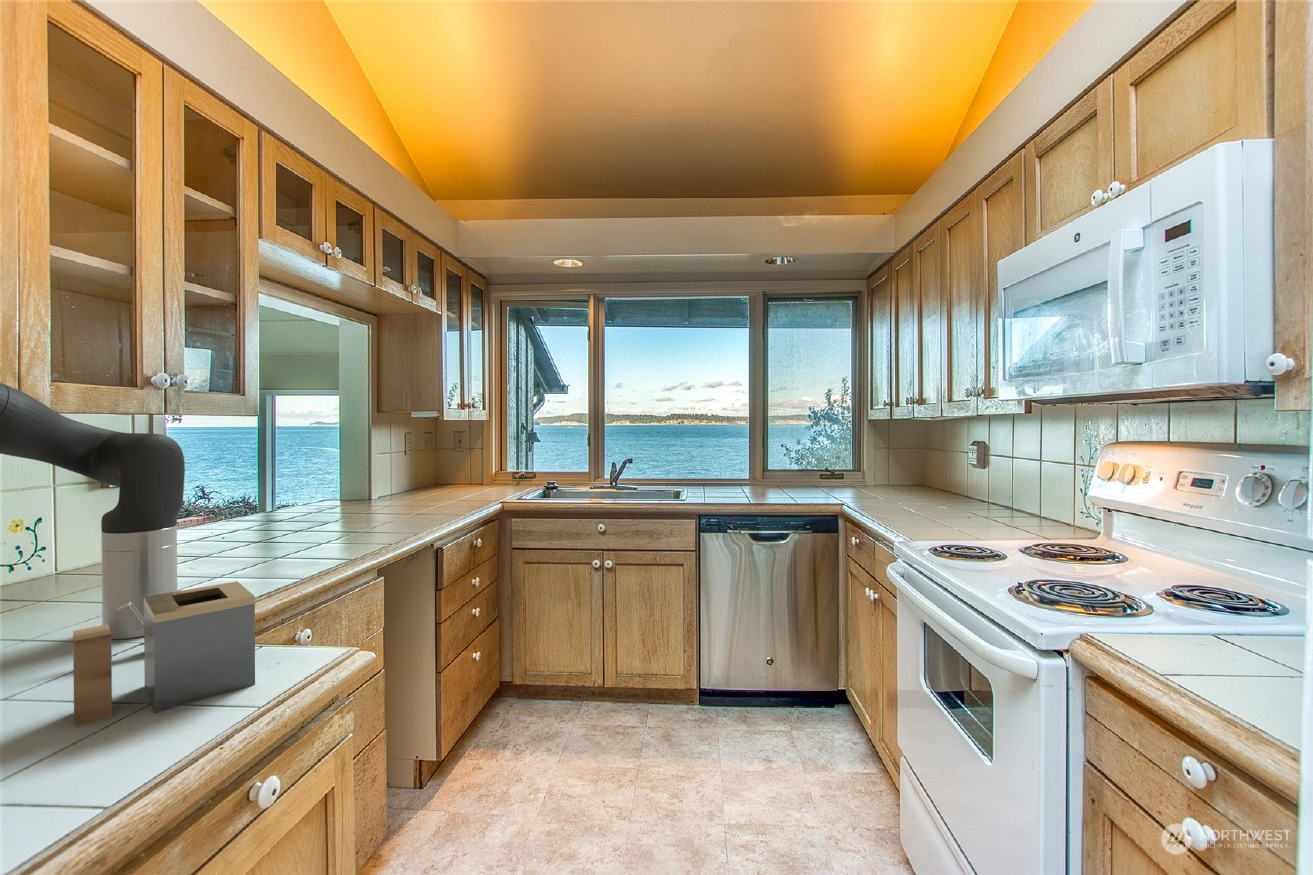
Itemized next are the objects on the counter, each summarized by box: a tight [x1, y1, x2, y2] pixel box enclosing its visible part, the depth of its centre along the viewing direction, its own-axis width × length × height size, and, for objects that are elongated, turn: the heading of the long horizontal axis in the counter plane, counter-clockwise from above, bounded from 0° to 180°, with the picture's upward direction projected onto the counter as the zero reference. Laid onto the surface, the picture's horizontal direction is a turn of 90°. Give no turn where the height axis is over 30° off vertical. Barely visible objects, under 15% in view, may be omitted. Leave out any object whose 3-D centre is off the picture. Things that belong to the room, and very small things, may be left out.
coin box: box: [143, 581, 256, 714], centre depth 73 cm, size 10×10×12 cm
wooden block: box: [72, 624, 113, 728], centre depth 65 cm, size 4×3×10 cm, turn 49°
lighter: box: [118, 602, 144, 632], centre depth 83 cm, size 7×2×8 cm, turn 127°
